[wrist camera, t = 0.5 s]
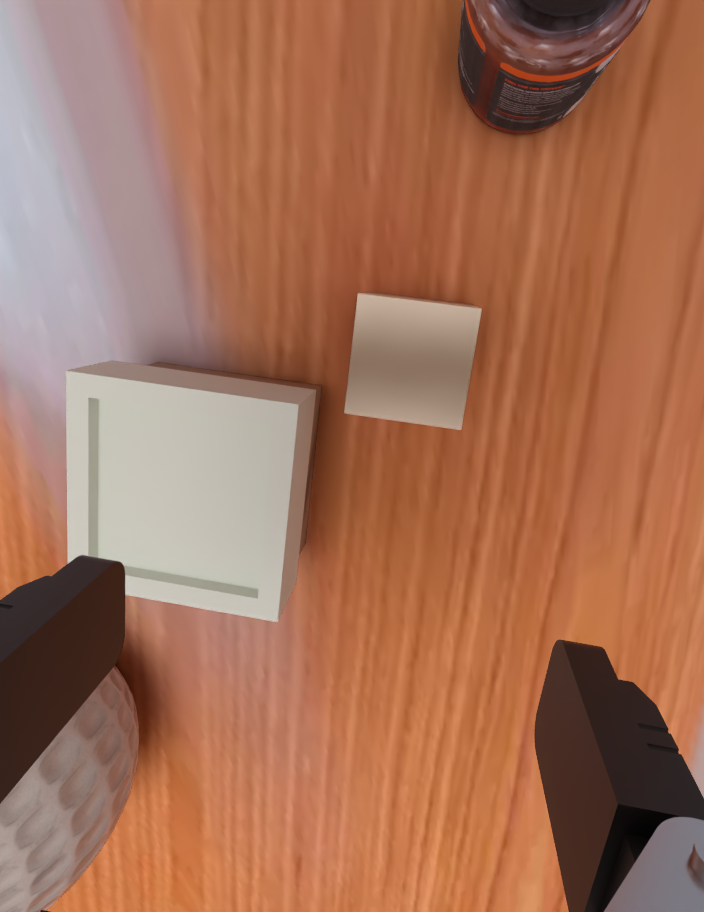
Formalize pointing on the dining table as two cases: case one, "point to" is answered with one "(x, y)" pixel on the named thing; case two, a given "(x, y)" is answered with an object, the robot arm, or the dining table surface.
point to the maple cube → (411, 359)
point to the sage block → (189, 483)
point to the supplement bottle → (537, 56)
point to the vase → (69, 800)
